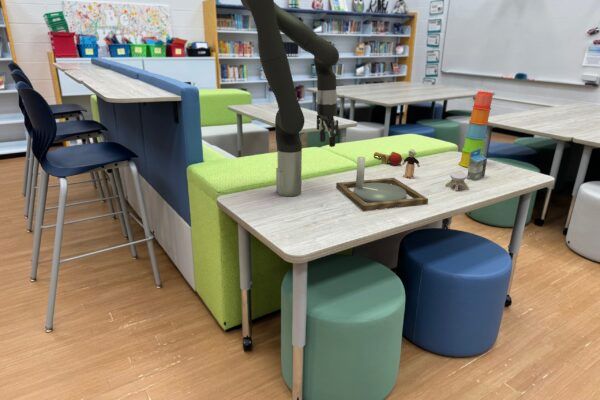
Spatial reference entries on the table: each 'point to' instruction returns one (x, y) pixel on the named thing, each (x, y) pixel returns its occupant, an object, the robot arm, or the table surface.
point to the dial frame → (416, 200)
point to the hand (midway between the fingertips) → (327, 144)
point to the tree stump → (457, 180)
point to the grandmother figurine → (410, 164)
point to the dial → (375, 188)
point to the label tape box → (476, 165)
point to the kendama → (390, 158)
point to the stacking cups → (477, 126)
